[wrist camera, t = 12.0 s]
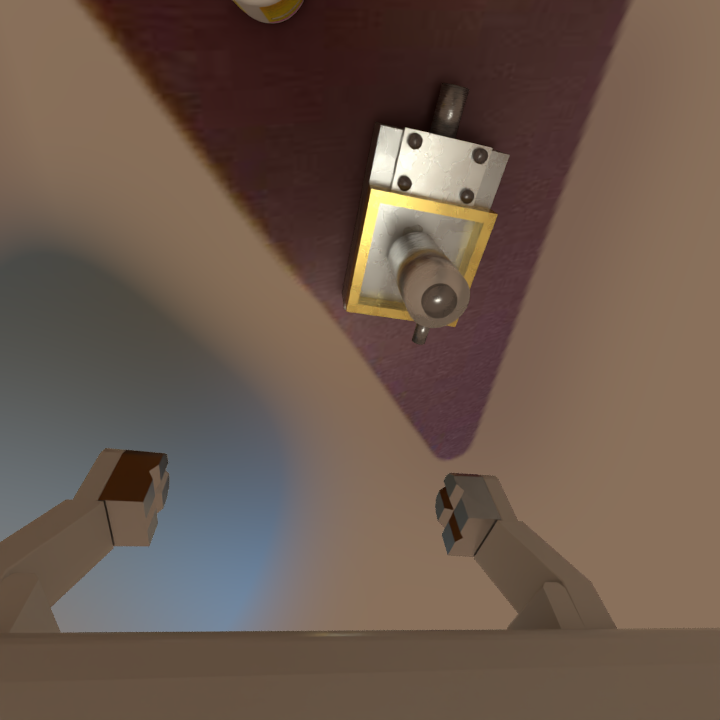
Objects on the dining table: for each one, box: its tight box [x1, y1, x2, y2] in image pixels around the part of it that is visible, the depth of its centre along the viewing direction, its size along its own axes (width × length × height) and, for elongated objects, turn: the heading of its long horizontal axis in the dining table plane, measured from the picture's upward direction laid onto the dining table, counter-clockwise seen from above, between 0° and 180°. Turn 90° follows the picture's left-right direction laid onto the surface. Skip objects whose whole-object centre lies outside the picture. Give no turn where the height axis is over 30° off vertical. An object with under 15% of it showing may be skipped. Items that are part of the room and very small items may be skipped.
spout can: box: [388, 232, 470, 344], centre depth 37 cm, size 7×5×11 cm
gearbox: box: [342, 83, 510, 327], centre depth 40 cm, size 22×12×6 cm, turn 168°
